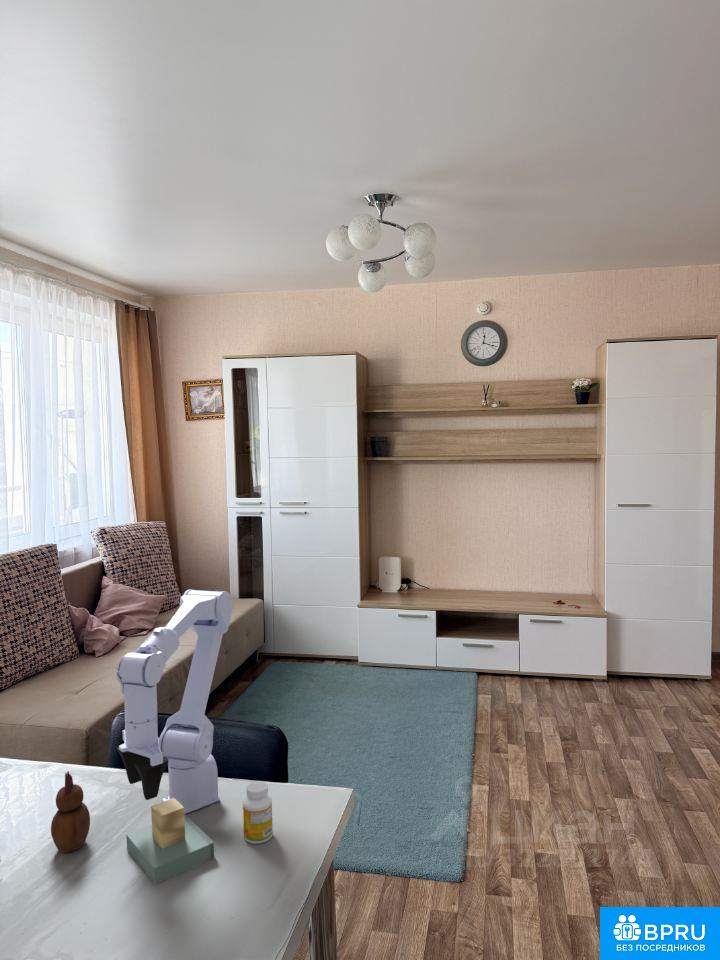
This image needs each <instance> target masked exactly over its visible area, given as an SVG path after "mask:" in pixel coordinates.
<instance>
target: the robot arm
mask: <svg viewBox="0 0 720 960" xmlns="http://www.w3.org/2000/svg"><path fill="white" fill-rule="evenodd" d="M233 610H234V606H233V601H232V597H231V595H230V593H229V592H228V591H225V590H223V591H215V590H214V591H213V590H201V589H200V590H197V589H192V588H191V589H190V588H189V589H187V590H186V591H185V592H183V595H182V596H180V599H179V608H178V609H177V611H176V612H175V614H174V615H173V616H172V617H171V618H170V620H169V621H168V623H167V624H166V625H165V626H164V627H163V626H160V627H155V629H154V630H153V631H152V633H151V634H150V635H149V636H148V637H147V638H146V639H145V641H143V642H142V644H141V645H140V646H139V647H137V649H136V650H134V652H128V653H126V654H125V655H123V656H122V657H121V658H120V660H119V663H118V665H117V670H116V672H115V673H116V675H115V677H116V679H117V682H118V683H119V684H120V691H121V692H120V693H121V694H122V695H123V698H124V699H123V700H124V701H123V703H124V704H123V705H124V706H123V707H124V729H123V730H122V741H123V742H124V743H122V744H120V745H118V746H117V747H116V750H117V752H118V754H119V755H120V757H121V760H122V762H123V765H124V769H125V772H126V776H127V779H128V783H129V784H130V785H133V784H136V783H139V782H141V786H142V792H143V797H144V799H145V801H149V800H151V799H155V798H156V797H158V794H159V791H160V786H161V782H162V777H163V776H164V772H165V770H166V768H167V767H168V792H169V793H168V796H166V797H164V798H162V799H161V801H162V802H164V801H167V800H169V799H172V798H175V799H176V800H177V801H178V802H179V803H180V804H181V805H182V806H183V807H184V814H185V815H186V814H188V813H189V814H190V813H192V812H193V811H197V810H199V809H201V808H205V807H207V806H210V805H212V804H214V803H217V802H220V800H221V797H220V796H219V782H218V780H219V777H218V776H219V775H218V774H219V773H218V766H217V762H216V759H215V758H214V756H213V755H212V751H213V745H214V728H215V726H214V725H213V723H212V722H211V721H210V719H209V718H208V717H207V715H206V714H205V713H206V709H207V704H208V700H209V696H210V691H211V687H212V683H213V678H214V673H215V669H216V664H217V661H218V658H219V657H218V656H219V653H220V648H221V644H222V639H223V635H224V634H225V633H227V632H228V630H229V626H230V621H231V619H232V614H233ZM189 629H190V630H192V631H194V632H195V633H196V635H197V640H196V644H195V647H194V652H193V655H192V660H191V664H190V668H189V673H188V676H187V681H186V683H185V684H186V685H185V688H184V693H183V696H182V700H181V704H180V708H179V710H178V711H177V712H176V713H173V714H172V715H171V716H169V717H168V718H167V720H166V723H165V726H164V728H163V730H162V732H161V734H160V736H158V735H159V733H158V732H159V731H158V694H157V693H158V690H157V684H158V683H159V682H160V681H161V679H162V676H163V672H164V670H165V668H166V666H167V665H166V663H167V662H168V661H169V659H170V658H171V657H172V656H173V654H174V653H175V652H176V650H178V649H179V647H180V638H181V637H182V636H183V635H184V634H185V633H186V632H187V631H188V630H189ZM185 727H186V728H185Z"/></svg>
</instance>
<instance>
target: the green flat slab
mask: <svg viewBox="0 0 720 960" xmlns="http://www.w3.org/2000/svg"><path fill="white" fill-rule="evenodd" d="M184 819H185V840H183V841H181V842H178V843H176V844H173V845H171V846H168V847H166V848H163V849H161V847H160V846H159V845H158V844H157V843H156V842H155V840H154V839H153V838H152V824H149V825H148V826H147V825H146V826H145V827H142V828H140V829H137V830H134V831H132V832H129V833H127V834H126V835H125V837H126V849H128V850H129V851H128V850H127V851H128V852H129V853H130V855H131V854H132V855H131V856H132V858H134V860H135V861H136V862H137V863H138V865H139V866H140V867H141V869H142V870H143V871H144V872H145V874H147V876H148V877H149V878H150V879H151V880H152V882H153V883H154V884H158V883H160V882H163V881H165V880H167V879H169V878H171V877H174V876H177V875H178V874H181V873H183V872H185V871H187V870H189V869H192V868H195V867H197V866H199V865H201V864H204V863H205V862H208V861H211V860H212V859H215V842H214V841H213V839H211V838H210V837H209V835H207V834H206V833H205V832H204V831H203V830H202V829H201V828H200V827H199V826H198V825H197V824H195V823H194V821H193V820H192V819H190V818H189V816H188V815H186V814H184Z"/></svg>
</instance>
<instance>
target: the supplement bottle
mask: <svg viewBox="0 0 720 960" xmlns="http://www.w3.org/2000/svg"><path fill="white" fill-rule="evenodd" d="M242 809H243V810H242V811H243V812H242V814H243V816H242V817H243V818H242V819H243V838H244V840H245V841H246V842H247V843H249V844H253V845H258V844H264V843H266V842H268V841H269V840H271V839H272V837H273V832H274V830H273V829H274V828H273V826H274V825H273V800H272V797H271V795H270V794H269V786H268V784H267V783H266V782H264V781H254V782H250V783H249V784H247V786H246V797H244V799H243V803H242Z"/></svg>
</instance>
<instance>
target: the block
mask: <svg viewBox="0 0 720 960" xmlns="http://www.w3.org/2000/svg"><path fill="white" fill-rule="evenodd" d="M150 810H151V811H150V812H151V814H150V815H151V825H152V838H153V839H154V840H155V842H156V843H157V844H158V845H159V846H160V847H161V849H163V848H166V847H168V846H171V845H173V844H176V843H178V842H181V841H183V840H185V819H184V807H183V806H182V805H181V804H180V803H179V802H178V801H177V800H176V799H175V798H172V799H169V800H167V801H164V802H159V803H156V804H154V805H151V806H150Z"/></svg>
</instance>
